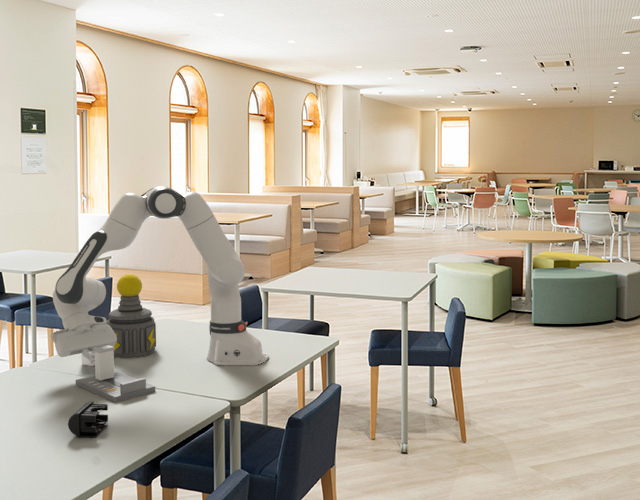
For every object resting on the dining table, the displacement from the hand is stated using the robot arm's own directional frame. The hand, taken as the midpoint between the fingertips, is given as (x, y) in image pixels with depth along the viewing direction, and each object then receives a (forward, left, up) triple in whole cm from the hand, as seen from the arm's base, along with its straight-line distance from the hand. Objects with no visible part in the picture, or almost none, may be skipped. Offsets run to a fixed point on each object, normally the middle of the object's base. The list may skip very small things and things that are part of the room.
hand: (95, 360), depth 223 cm
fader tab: (-5, +3, -4) cm, 7 cm away
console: (-10, +6, -6) cm, 14 cm away
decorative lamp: (+5, -34, -7) cm, 35 cm away
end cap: (-21, +40, -7) cm, 46 cm away
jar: (+11, -18, -7) cm, 22 cm away
